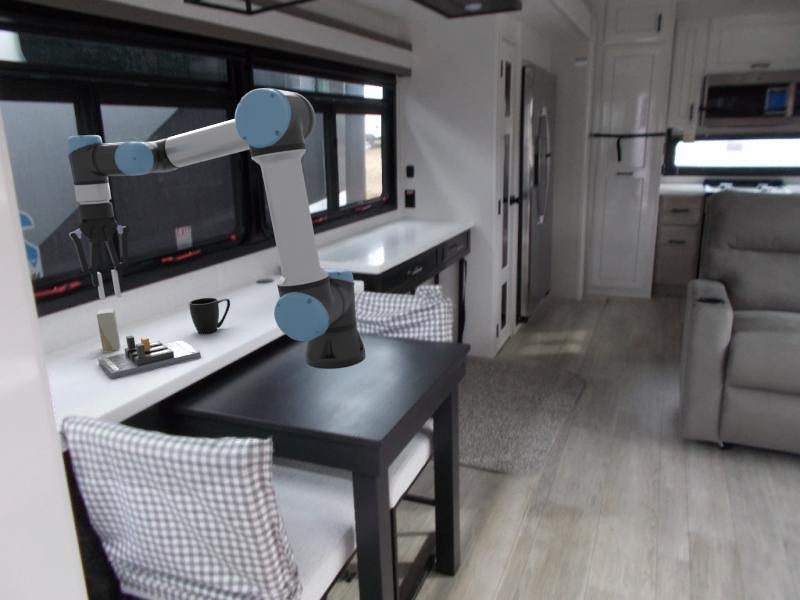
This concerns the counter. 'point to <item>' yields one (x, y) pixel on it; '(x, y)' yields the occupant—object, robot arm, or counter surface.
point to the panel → (136, 369)
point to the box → (108, 330)
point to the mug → (207, 314)
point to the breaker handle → (146, 343)
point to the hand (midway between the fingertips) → (110, 297)
